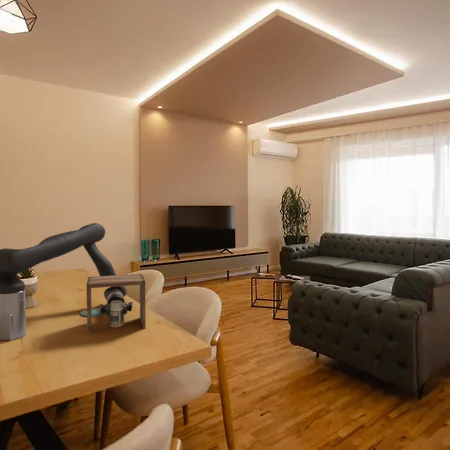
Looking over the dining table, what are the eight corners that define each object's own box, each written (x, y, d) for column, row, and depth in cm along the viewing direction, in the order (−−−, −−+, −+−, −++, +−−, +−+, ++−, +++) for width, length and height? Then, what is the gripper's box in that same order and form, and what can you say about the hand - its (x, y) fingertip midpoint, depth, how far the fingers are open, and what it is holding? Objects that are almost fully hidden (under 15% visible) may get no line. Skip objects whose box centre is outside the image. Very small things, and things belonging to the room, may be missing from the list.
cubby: (145, 328, 143) (145, 280, 142) (87, 334, 136) (86, 284, 135) (142, 317, 156) (142, 274, 155) (89, 322, 149) (88, 277, 148)
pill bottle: (118, 322, 150) (118, 299, 149) (126, 325, 146) (126, 301, 146) (106, 325, 146) (106, 302, 145) (114, 328, 142) (114, 304, 141)
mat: (99, 317, 156) (99, 316, 156) (75, 316, 157) (75, 315, 157) (110, 309, 167) (110, 308, 167) (88, 308, 168) (87, 307, 168)
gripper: (98, 294, 157) (97, 305, 141) (132, 292, 161) (134, 302, 145) (99, 311, 157) (98, 323, 141) (132, 308, 162) (135, 320, 146)
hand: (116, 312), depth 143 cm, fingers closed on pill bottle, 5 cm apart
